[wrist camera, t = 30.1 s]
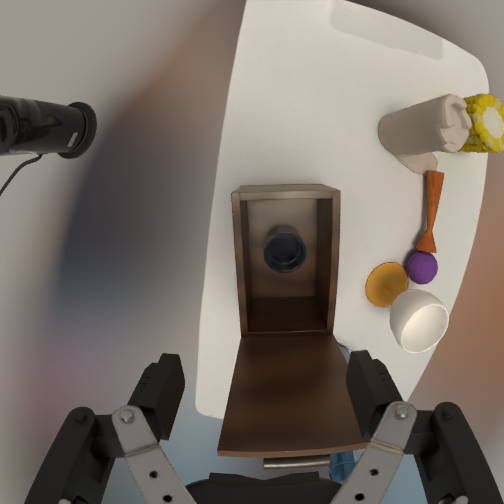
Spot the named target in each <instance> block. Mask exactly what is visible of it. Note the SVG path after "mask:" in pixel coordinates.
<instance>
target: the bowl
mask: <svg viewBox="0 0 504 504" xmlns="http://www.w3.org/2000/svg"><path fill="white" fill-rule="evenodd" d="M263 251H264V260H265V262H266V263H267V265H268V266H269V268H270V269H272V270H274V271H276V272H278V273H291V272H293V271H295V270H297V269H298V268H300V267H301V265H302V264H303V262H304V261H305V259H306V246H305V243H304V241H303V239H302V237H301V236H300V234H299V233H298V231H297V230H295V229H293V228H292V227H290V226H277V227H275V228H274V229H272V230H270V231H269V232H268V234H267V235H266V237H265V239H264V246H263Z"/></svg>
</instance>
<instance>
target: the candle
mask: <svg viewBox="0 0 504 504" xmlns="http://www.w3.org/2000/svg"><path fill="white" fill-rule="evenodd" d="M466 107H467V105H466V102H465V101H464V100H463V99H462V98H460V97H458V96H455V95H452V94H448V95H445V96H441V97H438V98H435V99H432V100H429V101H426V102H423V103H420V104H416V105H413V106H411V107H408V108H405V109H403V110H400V111H397V112H394V113H391V114H389V115H386V116H385V117H383V118H382V120H381V121H380V123H379V126H378V136H379V139H380V141H381V143H382V145H383V146H384V147H385V148H386V149H387V150H388V151H389V152H391V153H392V154H393V155H394V156H395V157H396V158H397V159H398V160H399V161H401V162H402V163H403V164H404V165H405V166H406V167H408V168H409V169H410V170H412V171H413V172H415V173H418V174H422V173H423V174H424V175H425V176H426V177H427V170H432V171H435V170H436V168H437V164H438V162H437V159H436V157H435V156H434V155H433V153H432V152H434V151H441V152H448V153H456V152H457V151H458V150H460V149H461V148H462V146H463V145H464V143H465V142H466V140H467V138H468V135H469V131H468V129H470V128H471V127H472V123H471V120H470V118H469V116H468V114H467V112H466V110H465V108H466Z"/></svg>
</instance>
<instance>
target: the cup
mask: <svg viewBox="0 0 504 504" xmlns="http://www.w3.org/2000/svg"><path fill="white" fill-rule="evenodd" d="M407 286H408V275H407V273H406V270H405V268H403V267H402V266H401V265H400V264H398V263H393V262H389V263H384V264H381V265H380V266H378V267H377V268H376V269H374V270H373V272H372V273H371V274H370V276H369V277H368V280H367V283H366V295H367V297H368V299H369V301H370V302H371V303H373V304H374V305H375V306H380V307H386V306H390V305H392V306H391V308H390V326H391V330H392V332H393V334H394V336H395V338H396V340H397V342H398V344H399V345H400V346H401V347H402V348H403V349H404V350H406V351H407V352H409V353H421V352H424V351H427V350H429V349H430V348H431V347H433V346H434V345H436V344H437V343H438V341H439V340H440V339H441V338H442V336H443V335H444V333H445V331H446V329H447V327H448V321H449V315H448V312H447V309H446V307H445V306H444V304H443V303H442V302H441V301H440V300H439V299H438V298H437V297H435V296H434V295H432V294H431V293H429V292H426V291H423V290H418V289H410V290H407V291H406V288H407Z"/></svg>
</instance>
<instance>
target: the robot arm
mask: <svg viewBox="0 0 504 504" xmlns="http://www.w3.org/2000/svg"><path fill="white" fill-rule="evenodd" d="M88 130H89V120H88V116H87V114H86V113H85V111H84V110H82V109H80V108H77V107H69V106H64V105H60V104H54V103H49V102H43V101H37V100H31V99H24V98H16V97H9V96H1V95H0V156H5V155H18V154H32V153H37V154H38V155H39V156H38V157H36V158H33V159H31V160H28V161H25V162H24V163H22V164H21V165H20V166H19V167H18V168H17V169H16V170H15V171H14V172H13V173H12V175H11V176H10V177H9V179H8V180H7V182H6V183H5V184H4V186H3V187H2V189H1V190H0V196H1V194H2V192H3V191H4V189H5V188H6V187H7V185H8V184H9V183H10V181H11V180H12V179H13V177H14V176H15V175H16V173H17V172H18V171H19V170H20V169H21V168H22V167H24V166H25V165H27V164H30V163H33V162H36V161H38V160H39V159H41V157H42V155H43V154H47V153H52V152H53V153H54V152H55V153H58V152H64V153H71V152H74V151H76V150H77V149H79V148H80V147H81V146H82V144H83V143H84V141H85V139H86V137H87V134H88ZM346 387H347V391H348V394H349V397H350V400H351V403H352V406H353V409H354V413H355V416H356V419H357V422H358V425H359V429H360V432H361V435H362V438H367V437H370V438H371V440H370V441H369V443H368V444H367V446H366V448H365V450H364V452H363V453H362V455H361V457H360V458H359V460H358V461H357V463H356V465H355V466H354V468H353V470H352V471H351V473H350V474H349V476H348V477H347V479H346V480H345V482H344V483H343V484H341V483H339V482H336V481H333V480H330V479H325V478H319V473H318V472H308V473H295V474H289V475H285V476H281V477H277V478H273V479H269V480H259V479H254V478H250V477H245V476H241V475H237V474H222V473H210V476H209V479H204V480H199V481H196V482H193V483H191V484H188V485H187V486H184V484H183V483H182V481H181V480H180V478H179V477H178V475H177V473H176V472H175V470H174V468H173V467H172V465H171V464H170V462H169V460H168V459H167V457H166V455H165V453H164V452H163V450H162V448H161V446H160V445H159V442H160V439H162V440H169V437H170V433H171V430H172V427H173V423H174V420H175V417H176V414H177V411H178V407H179V404H180V401H181V398H182V395H183V392H184V388H185V378H184V373H183V369H182V365H181V360H180V357H179V355H178V354H166V353H163V354H162V355H161V357H160V360H159V361H158V363H151V364H150V365H149V366H148V367H147V368H146V369H145V370H144V372H143V374H142V376H141V378H140V380H139V382H138V384H137V386H136V388H135V390H134V392H133V394H132V396H131V398H130V400H129V402H128V404H127V405H124V406H121V407H119V408H118V409H116V410H115V411H114V413H113V414H111V415H95V414H94V412H93V411H92V410H91V409H90V408H88V407H77V408H75V409H73V410H72V411H71V412H70V413H69V414H68V416H67V418H66V419H65V421H64V423H63V425H62V427H61V429H60V430H59V432H58V434H57V436H56V438H55V440H54V442H53V444H52V446H51V447H50V450H49V451H48V453H47V455H46V457H45V459H44V461H43V463H42V465H41V467H40V470H39V472H38V474H37V476H36V478H35V480H34V482H33V485H32V487H31V489H30V491H29V493H28V496H27V498H26V500H25V503H24V504H101V501H102V498H103V495H104V492H105V488H106V485H107V482H108V479H109V476H110V473H111V470H112V467H113V464H114V461H115V458H119V457H120V458H121V457H124V458H125V461H126V463H127V465H128V468H129V470H130V472H131V474H132V477H133V479H134V481H135V483H136V485H137V487H138V489H139V491H140V493H141V495H142V497H143V499H144V501H145V503H146V504H380V502H381V501H382V498H383V497H384V495H385V493H386V491H387V489H388V488H389V485H390V484H391V481H392V479H393V477H394V475H395V473H396V471H397V469H398V467H399V465H400V462H401V460H402V457H403V455H404V454H413V455H414V458H415V461H416V464H417V467H418V470H419V474H420V477H421V481H422V484H423V487H424V491H425V495H426V498H427V502H428V504H504V503H503V501H502V498H501V495H500V492H499V490H498V487H497V485H496V482H495V480H494V477H493V475H492V473H491V470H490V468H489V466H488V464H487V461H486V459H485V457H484V455H483V452H482V450H481V449H480V446H479V444H478V442H477V440H476V438H475V436H474V434H473V432H472V430H471V428H470V426H469V424H468V422H467V420H466V419H465V417H464V415H463V413H462V411H461V409H460V408H459V407H458V406H457V405H456V404H454V403H452V402H442V403H440V404H438V405H437V406H436V408H435V409H434V411H424V410H416V408H415V407H414V406H413V405H412V404H410V403H408V402H405V401H403V399H402V397H401V395H400V393H399V391H398V389H397V387H396V385H395V383H394V382H393V380H392V378H391V376H390V374H389V372H388V370H387V368H386V366H385V365H384V364H383V363H382V362H381V361H379V360H378V359H373V360H372V358H371V356H370V354H369V352H368V351H367V350H361V351H352V352H351V354H350V358H349V363H348V368H347V373H346Z"/></svg>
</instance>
